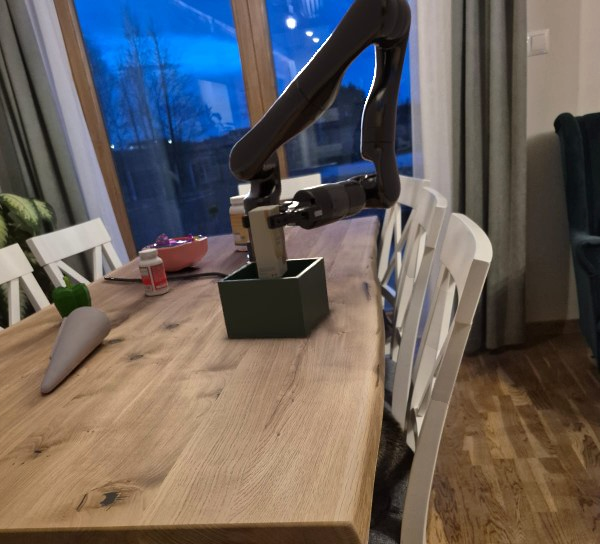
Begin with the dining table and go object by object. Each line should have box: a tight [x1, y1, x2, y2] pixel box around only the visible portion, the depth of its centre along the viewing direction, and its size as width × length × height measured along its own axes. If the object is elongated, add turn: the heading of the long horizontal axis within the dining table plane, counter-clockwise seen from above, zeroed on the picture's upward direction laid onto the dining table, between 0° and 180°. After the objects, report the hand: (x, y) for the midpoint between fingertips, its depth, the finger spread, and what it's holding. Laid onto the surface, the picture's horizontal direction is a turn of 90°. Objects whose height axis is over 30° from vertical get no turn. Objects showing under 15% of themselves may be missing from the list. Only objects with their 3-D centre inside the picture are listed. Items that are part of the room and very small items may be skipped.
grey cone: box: [40, 306, 112, 394], centre depth 105 cm, size 8×9×26 cm
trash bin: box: [217, 257, 330, 339], centre depth 111 cm, size 16×16×11 cm
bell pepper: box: [51, 275, 93, 319], centre depth 135 cm, size 8×8×10 cm
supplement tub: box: [228, 193, 249, 252], centre depth 192 cm, size 12×12×17 cm
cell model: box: [141, 233, 209, 273], centre depth 175 cm, size 17×20×11 cm
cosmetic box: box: [248, 205, 288, 279], centre depth 106 cm, size 6×4×12 cm
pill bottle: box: [137, 249, 170, 297], centre depth 149 cm, size 6×6×11 cm
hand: (255, 222), depth 103 cm, fingers closed on cosmetic box, 7 cm apart
